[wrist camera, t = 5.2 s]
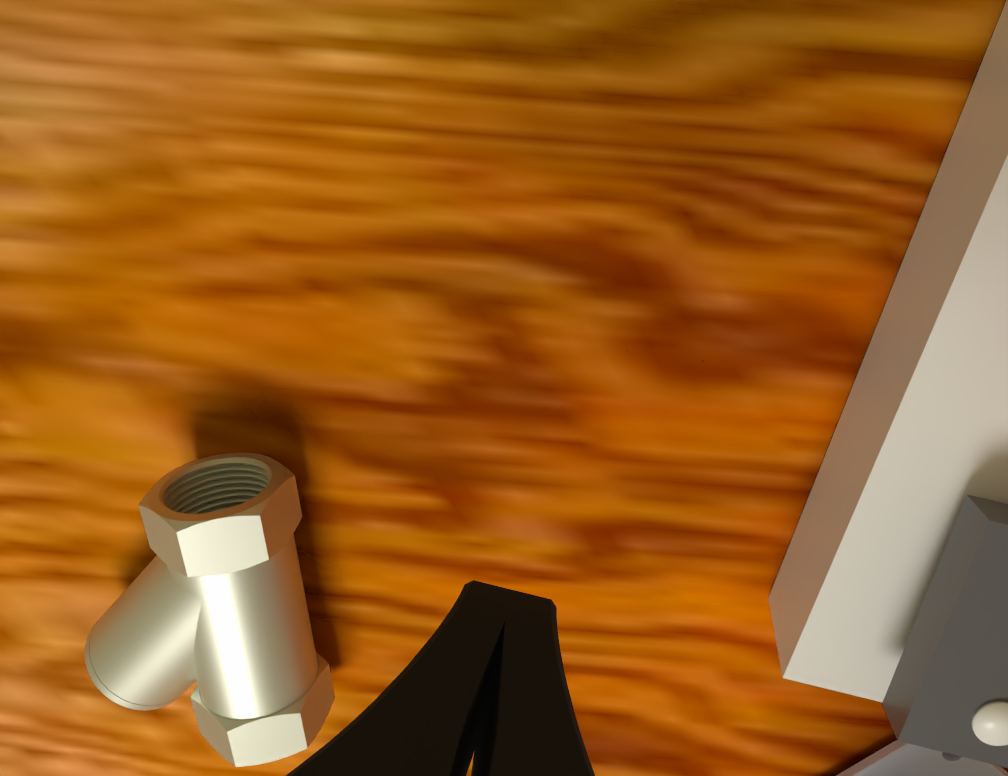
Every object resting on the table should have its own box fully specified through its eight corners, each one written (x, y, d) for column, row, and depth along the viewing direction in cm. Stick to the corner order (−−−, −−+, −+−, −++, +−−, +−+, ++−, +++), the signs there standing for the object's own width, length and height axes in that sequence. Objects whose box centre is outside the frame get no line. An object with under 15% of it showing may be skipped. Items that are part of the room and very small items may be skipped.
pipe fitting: (156, 653, 29) (348, 678, 28) (78, 745, 26) (292, 780, 24) (95, 437, 26) (309, 452, 24) (-4, 510, 22) (239, 533, 21)
